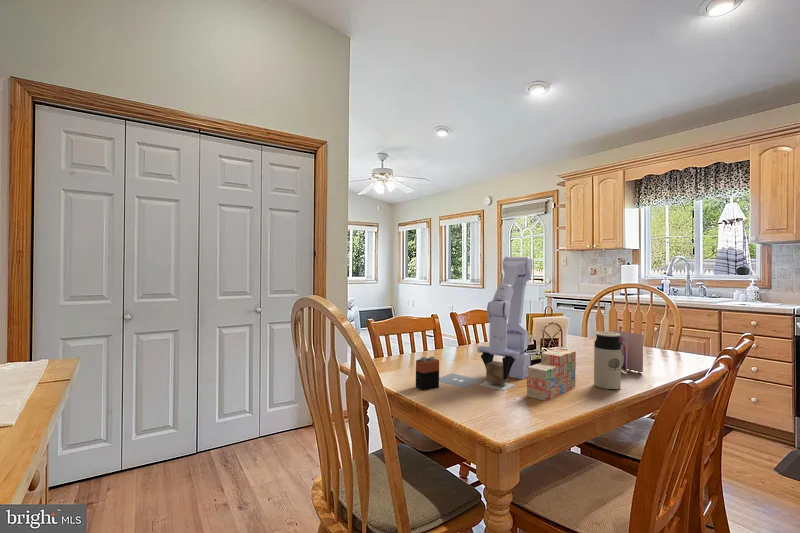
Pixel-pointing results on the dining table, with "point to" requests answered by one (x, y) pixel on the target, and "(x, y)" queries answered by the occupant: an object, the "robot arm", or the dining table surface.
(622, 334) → the greeting card
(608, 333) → the travel mug
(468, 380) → the blue-gray square plate
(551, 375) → the stack of blocks
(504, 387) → the rubber mat
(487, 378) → the walnut block
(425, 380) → the battery
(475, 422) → the dining table surface
